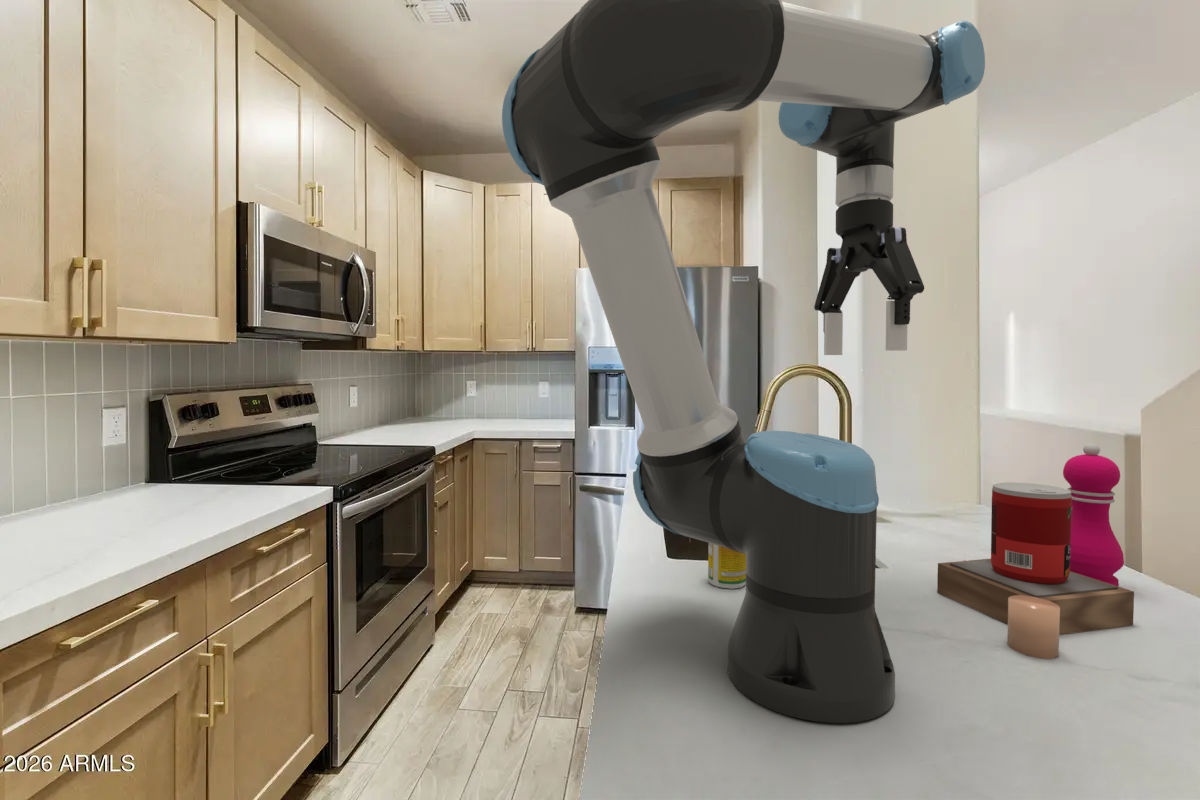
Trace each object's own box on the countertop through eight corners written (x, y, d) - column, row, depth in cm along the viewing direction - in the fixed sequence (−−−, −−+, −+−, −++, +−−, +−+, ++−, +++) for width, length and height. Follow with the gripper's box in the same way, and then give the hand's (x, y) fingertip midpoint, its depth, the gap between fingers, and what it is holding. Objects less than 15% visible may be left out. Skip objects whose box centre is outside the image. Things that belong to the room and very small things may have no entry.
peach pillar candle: (1035, 661, 59) (1036, 612, 59) (997, 641, 63) (998, 597, 63) (1069, 656, 60) (1071, 609, 60) (1029, 637, 64) (1030, 593, 64)
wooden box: (1037, 637, 64) (1037, 599, 64) (937, 592, 78) (937, 561, 78) (1133, 625, 67) (1134, 589, 67) (1021, 583, 81) (1021, 554, 81)
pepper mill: (1126, 600, 75) (1130, 447, 74) (1055, 588, 79) (1059, 444, 78) (1119, 584, 80) (1123, 442, 80) (1054, 574, 85) (1057, 439, 84)
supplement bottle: (700, 582, 82) (700, 515, 82) (724, 573, 85) (724, 510, 85) (730, 592, 78) (731, 522, 78) (754, 583, 81) (755, 516, 81)
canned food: (1084, 587, 68) (1086, 494, 67) (1008, 582, 69) (1010, 492, 69) (1047, 566, 75) (1049, 483, 75) (979, 562, 77) (981, 481, 76)
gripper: (958, 176, 71) (955, 348, 72) (833, 228, 95) (832, 356, 96) (906, 171, 69) (903, 347, 70) (792, 226, 94) (791, 356, 94)
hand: (862, 353), depth 83 cm, fingers open, 13 cm apart
